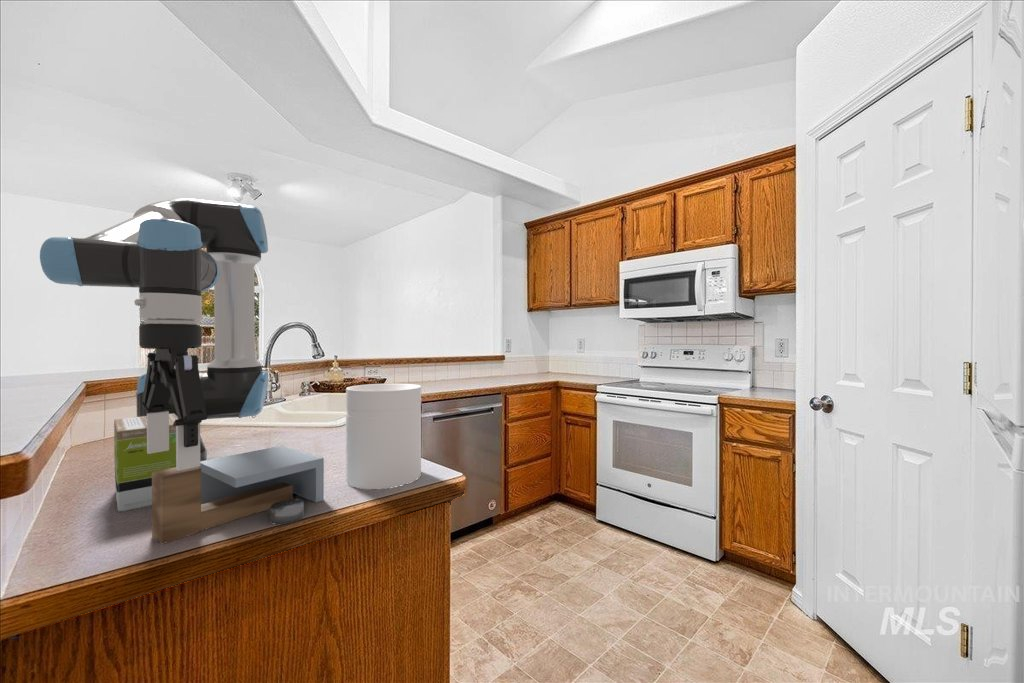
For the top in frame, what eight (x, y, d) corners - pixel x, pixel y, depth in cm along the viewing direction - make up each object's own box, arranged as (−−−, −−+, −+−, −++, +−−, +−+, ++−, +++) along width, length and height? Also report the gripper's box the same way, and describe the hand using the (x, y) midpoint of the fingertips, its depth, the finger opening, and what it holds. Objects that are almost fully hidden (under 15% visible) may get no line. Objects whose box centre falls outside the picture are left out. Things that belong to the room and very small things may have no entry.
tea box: (113, 491, 85) (113, 417, 85) (176, 480, 92) (176, 412, 92) (115, 513, 74) (116, 429, 74) (187, 498, 81) (187, 421, 81)
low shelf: (198, 505, 78) (198, 461, 78) (281, 483, 90) (281, 445, 90) (235, 528, 68) (235, 478, 68) (323, 500, 81) (323, 457, 81)
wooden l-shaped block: (151, 537, 65) (151, 472, 65) (281, 497, 82) (281, 445, 82) (162, 544, 63) (162, 476, 63) (293, 501, 80) (293, 448, 80)
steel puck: (264, 520, 72) (264, 505, 72) (294, 510, 76) (294, 496, 76) (279, 528, 69) (279, 512, 69) (309, 517, 73) (309, 503, 73)
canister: (436, 474, 97) (436, 386, 97) (379, 495, 83) (379, 393, 83) (388, 462, 105) (389, 382, 105) (330, 480, 92) (330, 388, 92)
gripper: (117, 322, 70) (118, 450, 70) (168, 321, 55) (170, 483, 56) (173, 323, 76) (174, 441, 76) (233, 323, 61) (233, 469, 62)
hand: (172, 459), depth 66 cm, fingers open, 13 cm apart
